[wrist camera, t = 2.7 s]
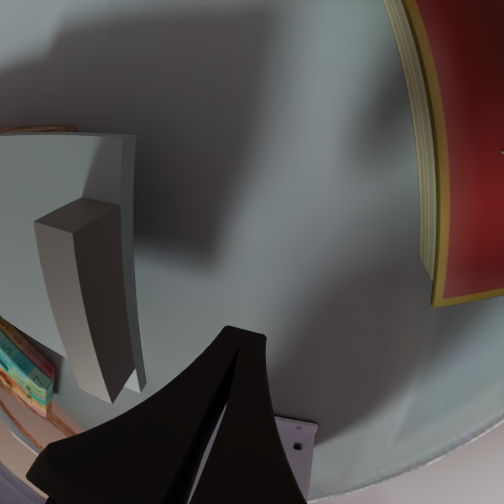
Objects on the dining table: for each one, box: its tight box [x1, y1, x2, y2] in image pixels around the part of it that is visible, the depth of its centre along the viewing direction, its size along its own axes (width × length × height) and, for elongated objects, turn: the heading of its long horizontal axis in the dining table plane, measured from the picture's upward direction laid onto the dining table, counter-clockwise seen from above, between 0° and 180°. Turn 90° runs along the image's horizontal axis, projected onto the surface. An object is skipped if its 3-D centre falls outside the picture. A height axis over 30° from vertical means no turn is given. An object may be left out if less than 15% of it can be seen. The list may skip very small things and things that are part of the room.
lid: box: [0, 132, 147, 404], centre depth 11 cm, size 12×12×3 cm
